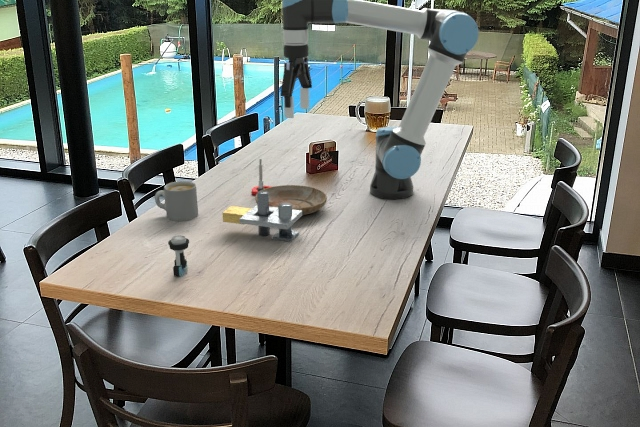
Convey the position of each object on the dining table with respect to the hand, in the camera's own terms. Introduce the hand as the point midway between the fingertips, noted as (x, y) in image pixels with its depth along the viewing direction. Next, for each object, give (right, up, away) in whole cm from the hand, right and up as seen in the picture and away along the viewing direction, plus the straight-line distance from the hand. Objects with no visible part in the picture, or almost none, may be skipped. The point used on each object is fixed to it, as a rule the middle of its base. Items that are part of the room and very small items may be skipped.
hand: (297, 113), depth 216 cm
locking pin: (-10, -38, -9) cm, 40 cm away
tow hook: (-13, -24, +28) cm, 39 cm away
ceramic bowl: (-2, -31, +10) cm, 32 cm away
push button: (-29, -47, -33) cm, 65 cm away
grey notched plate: (-11, -37, -9) cm, 40 cm away
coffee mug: (-39, -32, +6) cm, 51 cm away
